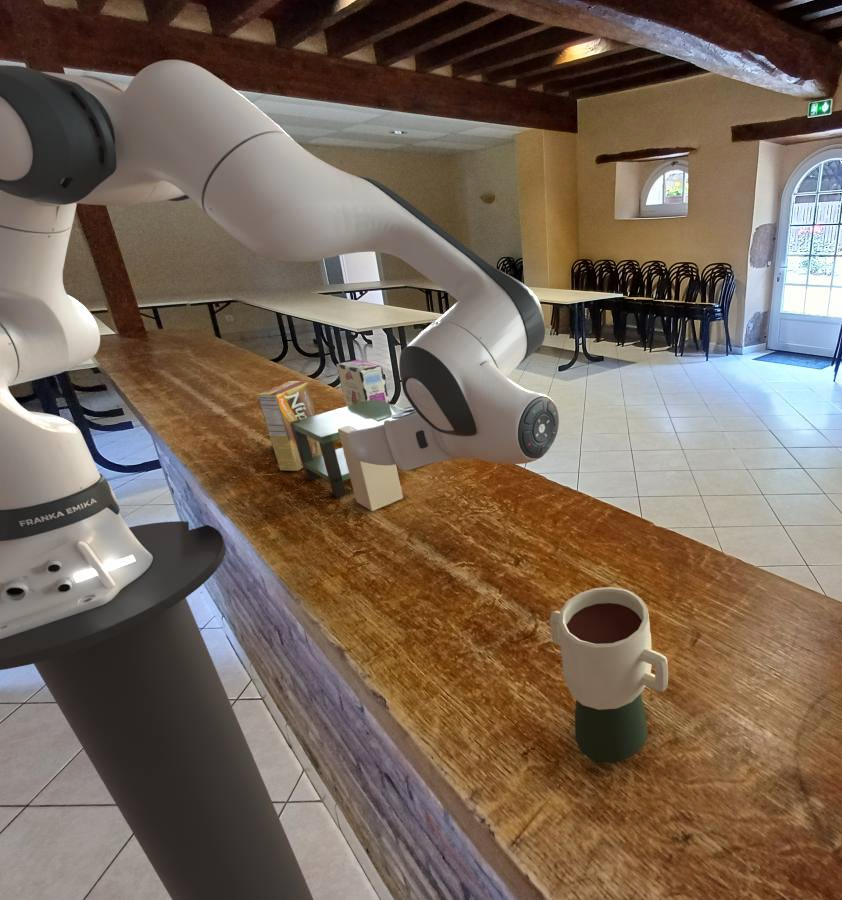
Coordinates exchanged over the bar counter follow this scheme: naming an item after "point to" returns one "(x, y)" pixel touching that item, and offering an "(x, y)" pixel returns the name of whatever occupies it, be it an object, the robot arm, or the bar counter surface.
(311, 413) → the candy box
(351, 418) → the rack
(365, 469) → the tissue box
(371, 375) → the candy bar box
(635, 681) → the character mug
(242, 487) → the bar counter surface
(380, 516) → the bar counter surface
